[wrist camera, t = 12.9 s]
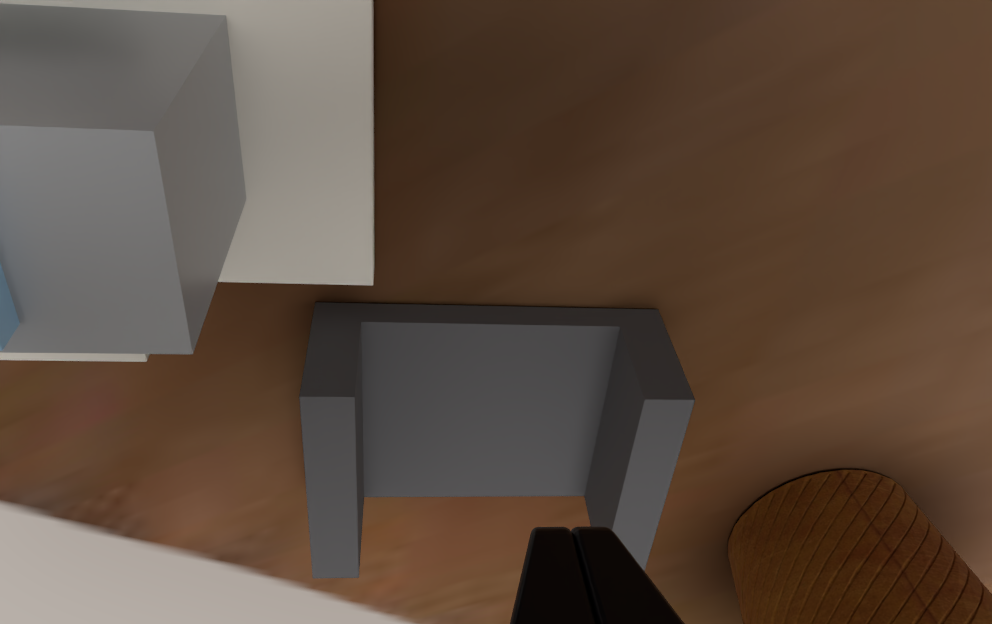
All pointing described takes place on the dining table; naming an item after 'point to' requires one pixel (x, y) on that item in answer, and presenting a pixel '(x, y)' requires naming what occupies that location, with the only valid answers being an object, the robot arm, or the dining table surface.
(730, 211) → the dining table surface
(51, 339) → the plug
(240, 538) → the dining table surface
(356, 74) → the port
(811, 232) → the dining table surface
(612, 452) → the holster
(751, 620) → the disposable coffee cup
